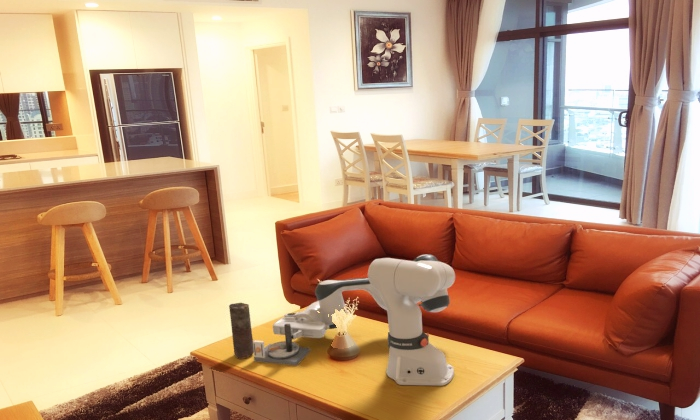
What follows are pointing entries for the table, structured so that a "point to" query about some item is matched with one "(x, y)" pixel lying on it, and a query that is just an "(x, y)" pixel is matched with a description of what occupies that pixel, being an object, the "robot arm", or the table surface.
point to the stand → (262, 356)
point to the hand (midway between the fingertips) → (290, 337)
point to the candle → (241, 330)
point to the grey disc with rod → (284, 346)
